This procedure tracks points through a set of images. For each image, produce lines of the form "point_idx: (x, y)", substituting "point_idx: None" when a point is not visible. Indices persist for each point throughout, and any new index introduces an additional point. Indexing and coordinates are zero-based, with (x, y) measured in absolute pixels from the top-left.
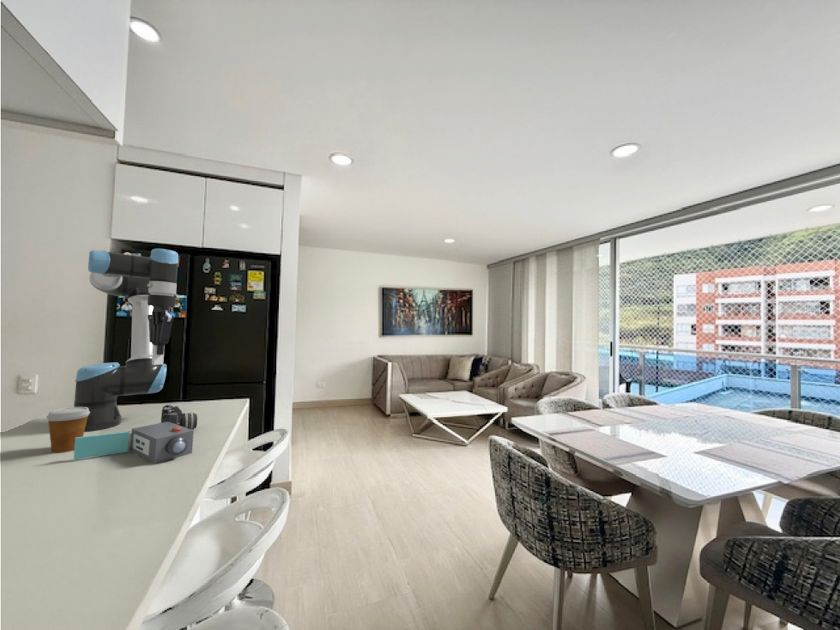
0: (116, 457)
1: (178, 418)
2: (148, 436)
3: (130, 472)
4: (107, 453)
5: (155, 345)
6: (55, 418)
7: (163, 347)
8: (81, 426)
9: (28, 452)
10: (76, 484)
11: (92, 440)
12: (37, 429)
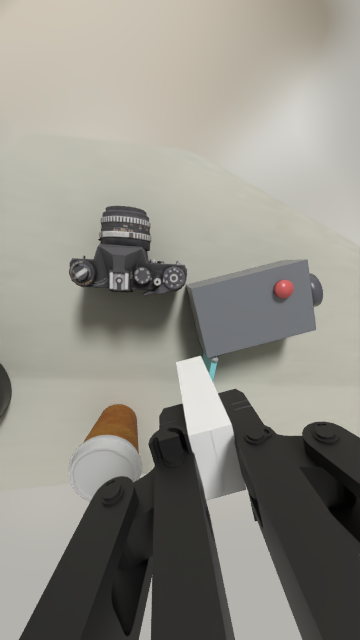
0: (219, 362)
1: (146, 257)
2: (282, 337)
3: (303, 351)
4: None
5: (245, 486)
6: None
7: (262, 422)
8: (128, 430)
9: None
10: (298, 404)
11: None
12: None
